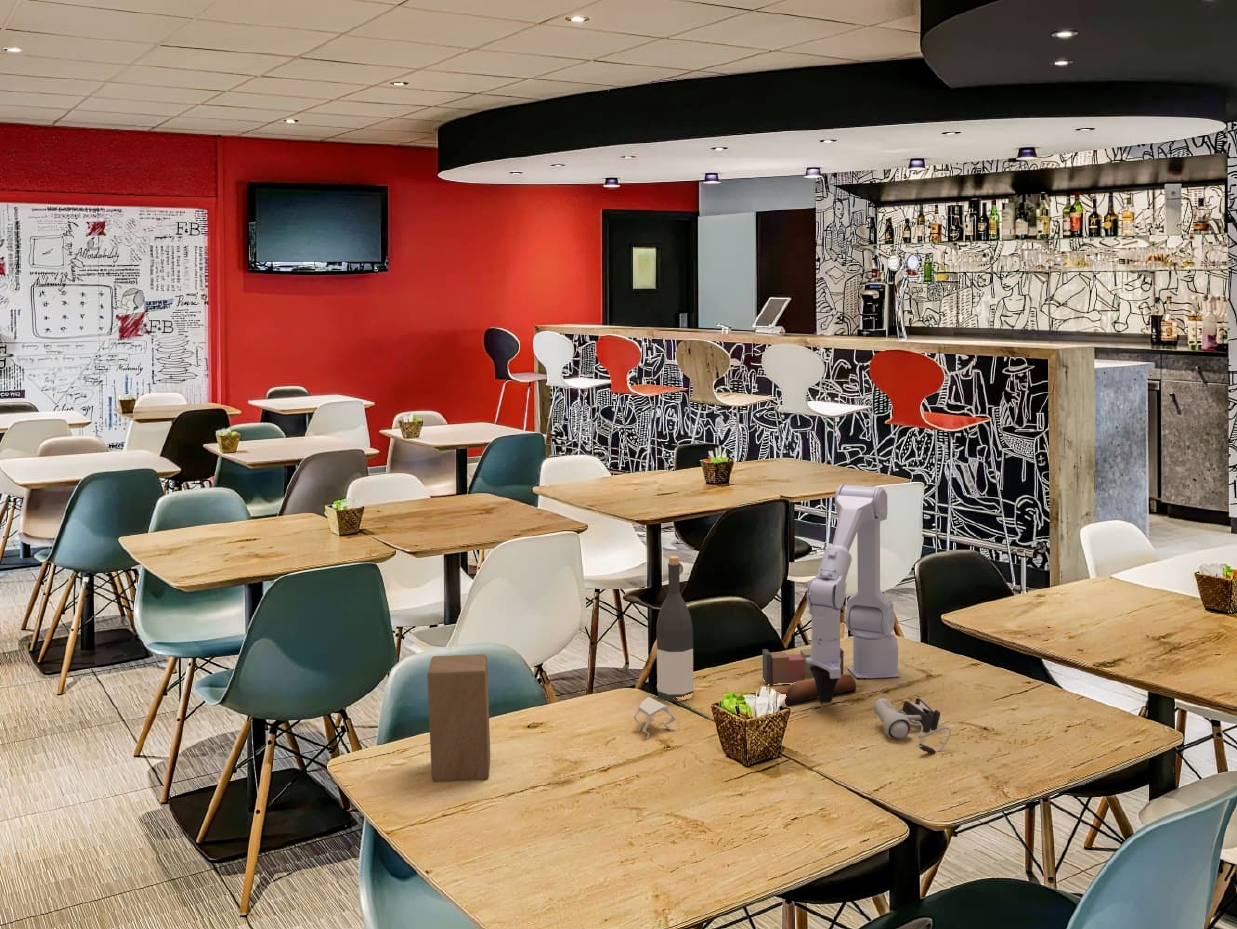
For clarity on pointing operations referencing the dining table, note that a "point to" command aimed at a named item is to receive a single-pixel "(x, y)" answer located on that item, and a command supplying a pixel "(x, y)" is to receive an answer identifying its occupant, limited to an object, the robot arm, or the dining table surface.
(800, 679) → the book row
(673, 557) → the wine bottle
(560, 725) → the dining table surface
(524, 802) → the dining table surface
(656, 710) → the grey legged block
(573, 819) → the dining table surface
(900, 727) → the clip-on lamp
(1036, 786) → the dining table surface
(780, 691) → the sunglasses case
